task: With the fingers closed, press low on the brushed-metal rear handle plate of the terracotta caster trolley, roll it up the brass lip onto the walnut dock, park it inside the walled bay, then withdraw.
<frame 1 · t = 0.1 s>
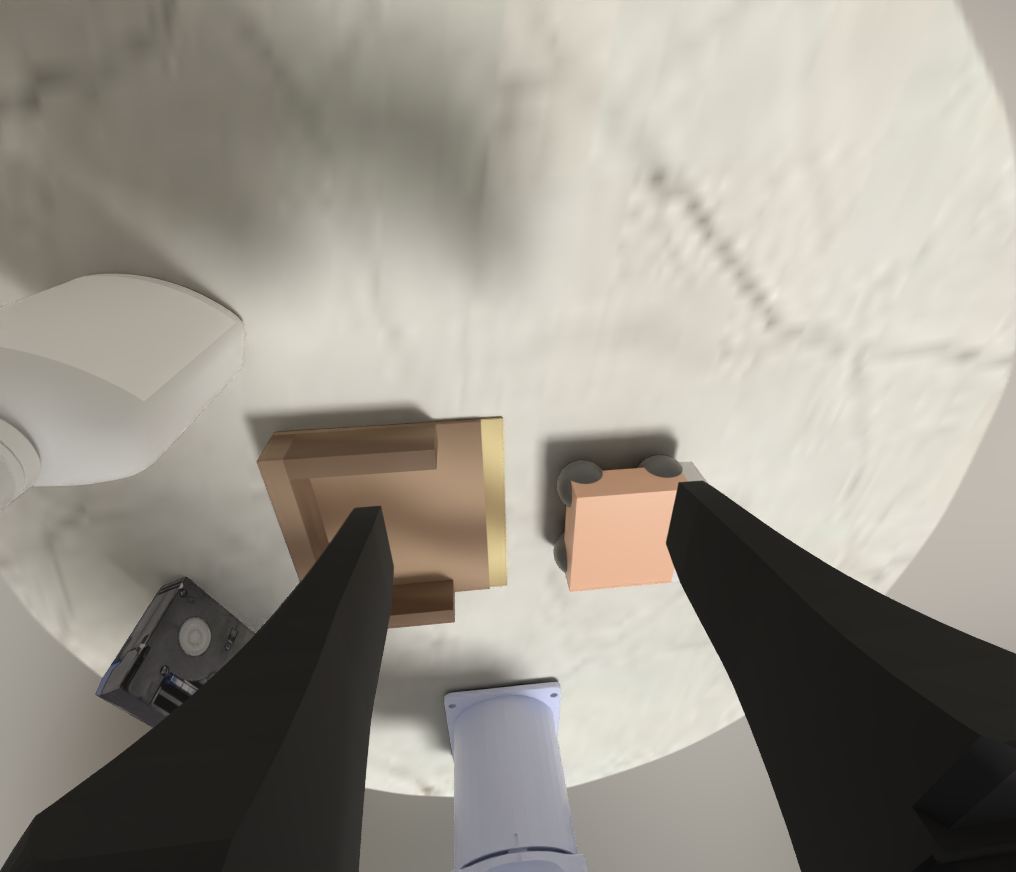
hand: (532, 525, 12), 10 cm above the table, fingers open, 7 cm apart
eye dropper bottle: (172, 321, 18), on the table
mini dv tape: (229, 621, 27), on the table
dock: (396, 519, 24), on the table
trolley: (609, 502, 25), on the table
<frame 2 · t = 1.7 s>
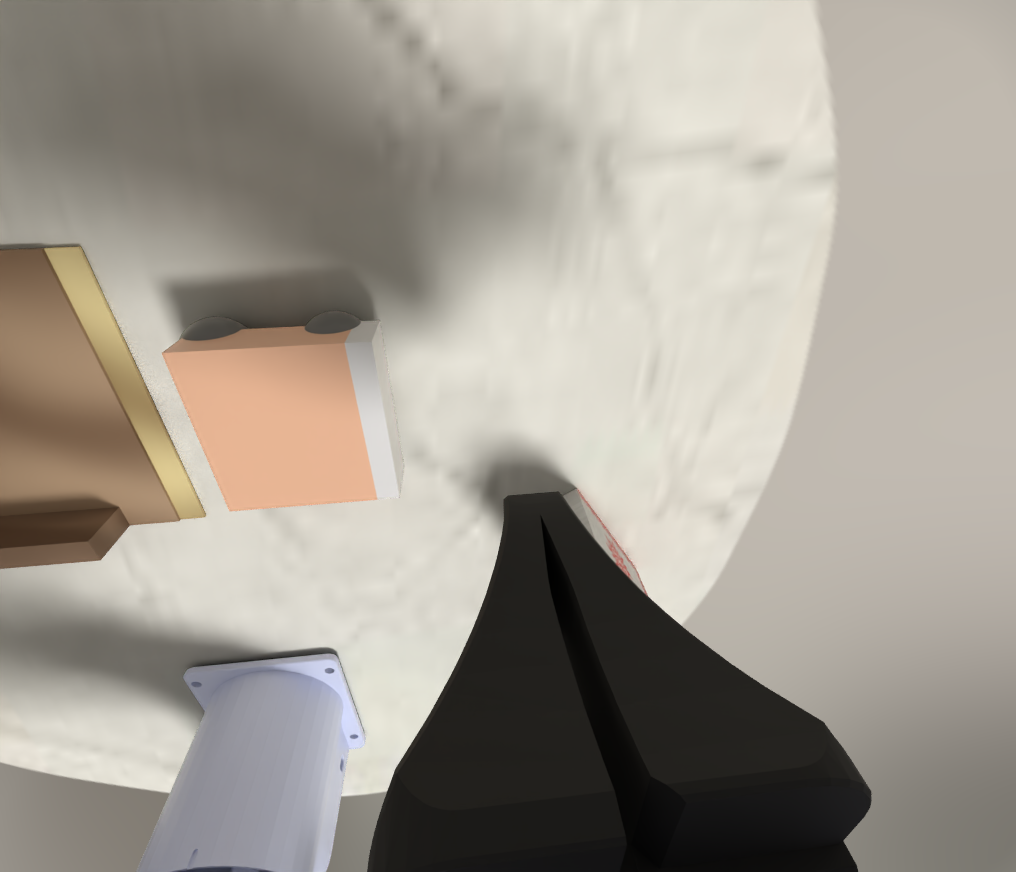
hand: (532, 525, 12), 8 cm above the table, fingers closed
gable top carton: (575, 545, 24), on the table
trolley: (305, 393, 18), on the table
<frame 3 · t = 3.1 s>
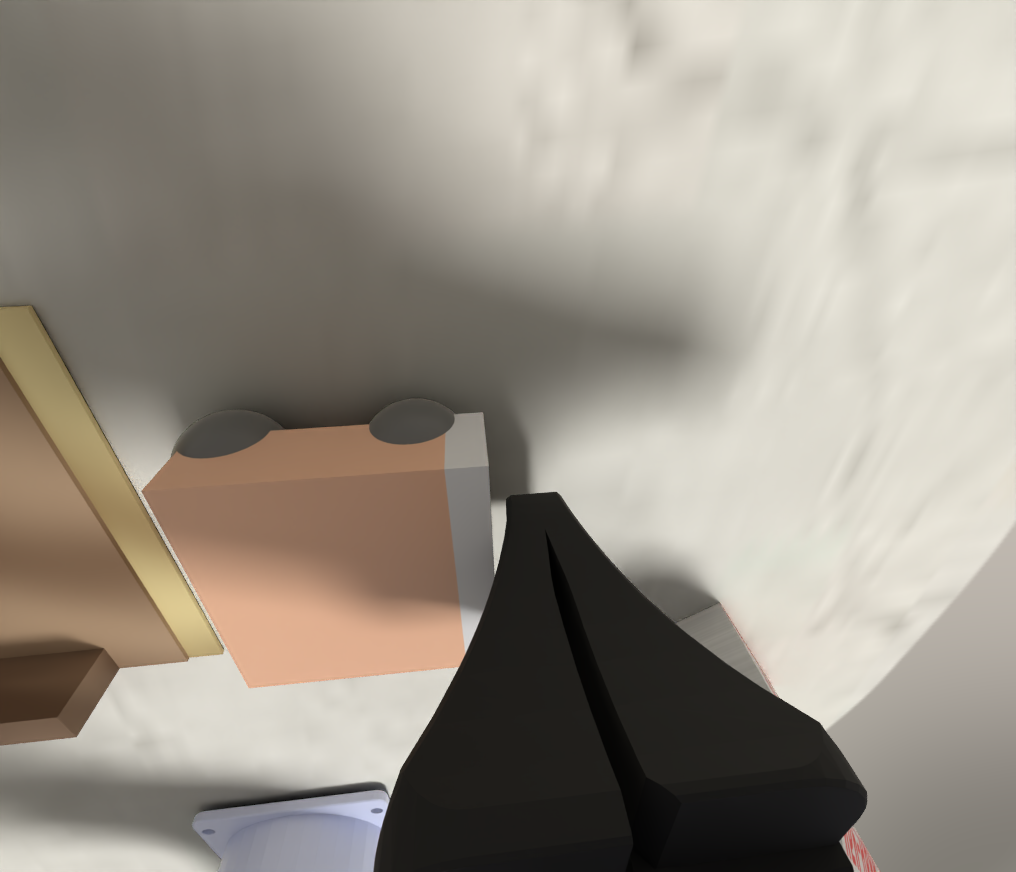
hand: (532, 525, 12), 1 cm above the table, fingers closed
gable top carton: (701, 662, 19), on the table
trolley: (357, 501, 13), on the table, touching gripper
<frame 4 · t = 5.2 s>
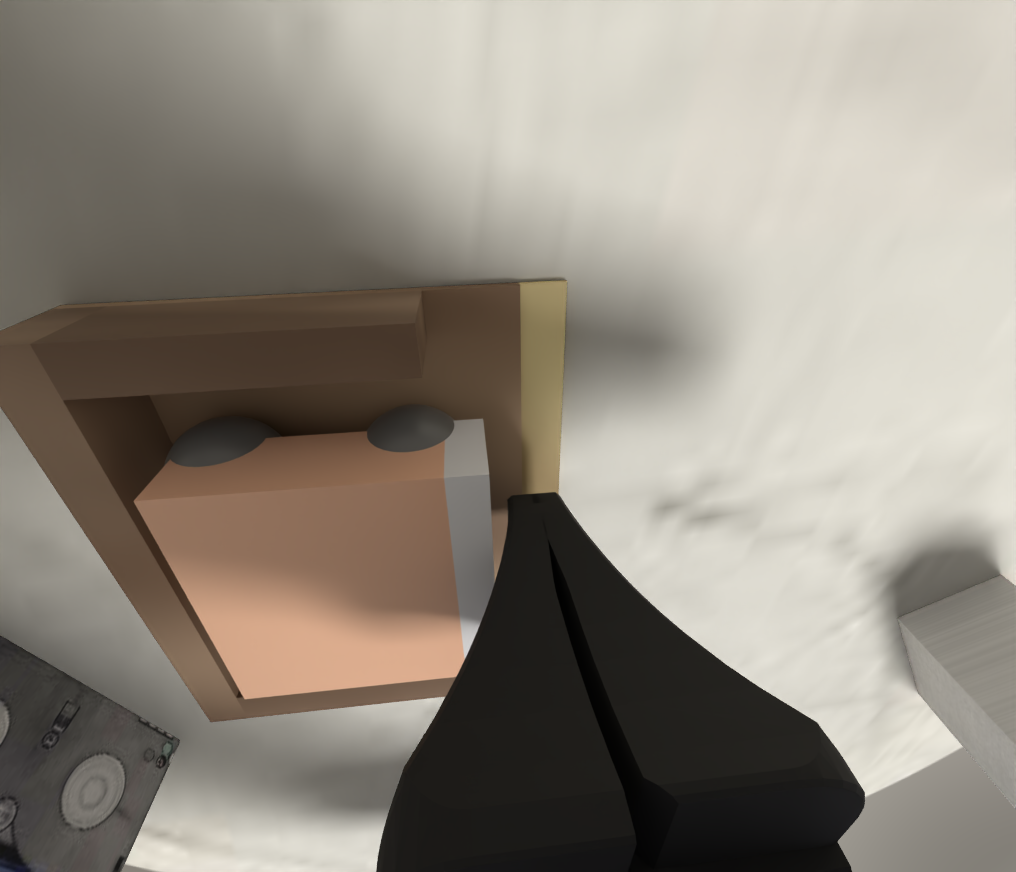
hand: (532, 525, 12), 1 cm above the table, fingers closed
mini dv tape: (72, 685, 16), on the table
gable top carton: (950, 635, 19), on the table
dock: (351, 503, 13), on the table
trolley: (355, 508, 12), resting on dock, touching gripper
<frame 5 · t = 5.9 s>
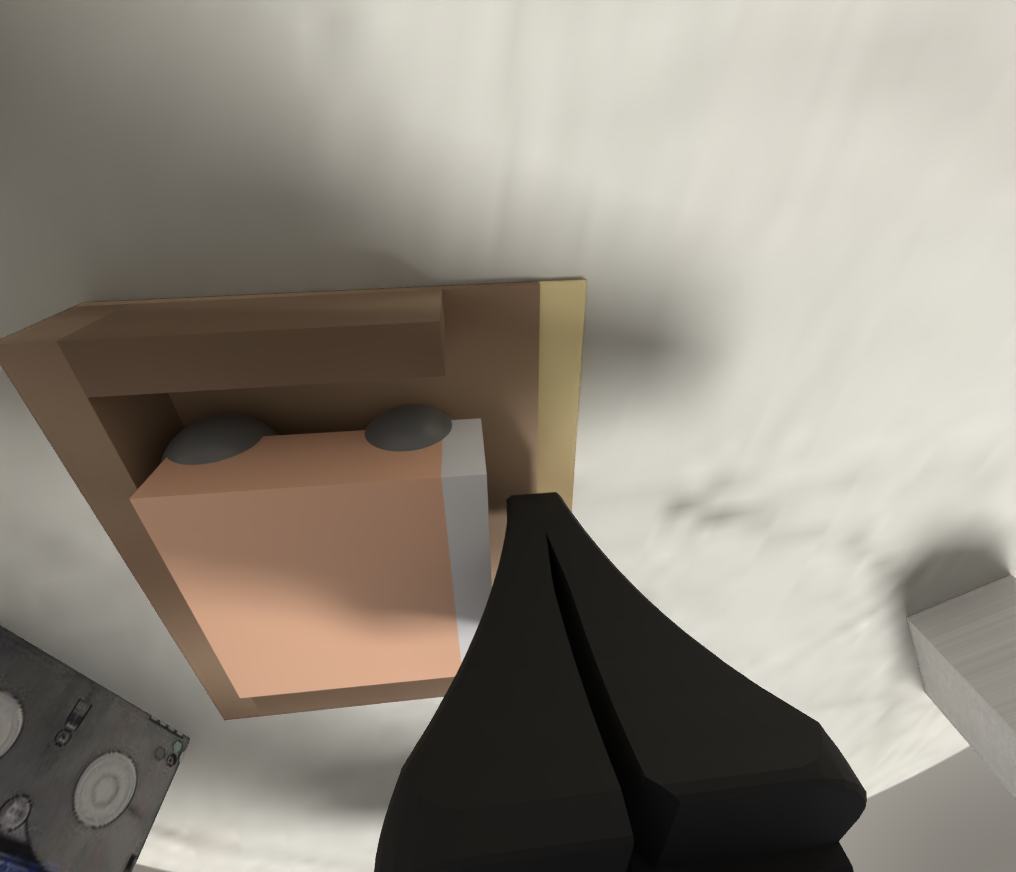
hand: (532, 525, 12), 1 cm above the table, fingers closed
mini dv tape: (84, 683, 16), on the table
gable top carton: (958, 635, 19), on the table
dock: (366, 502, 13), on the table
trolley: (352, 507, 12), resting on dock, touching gripper
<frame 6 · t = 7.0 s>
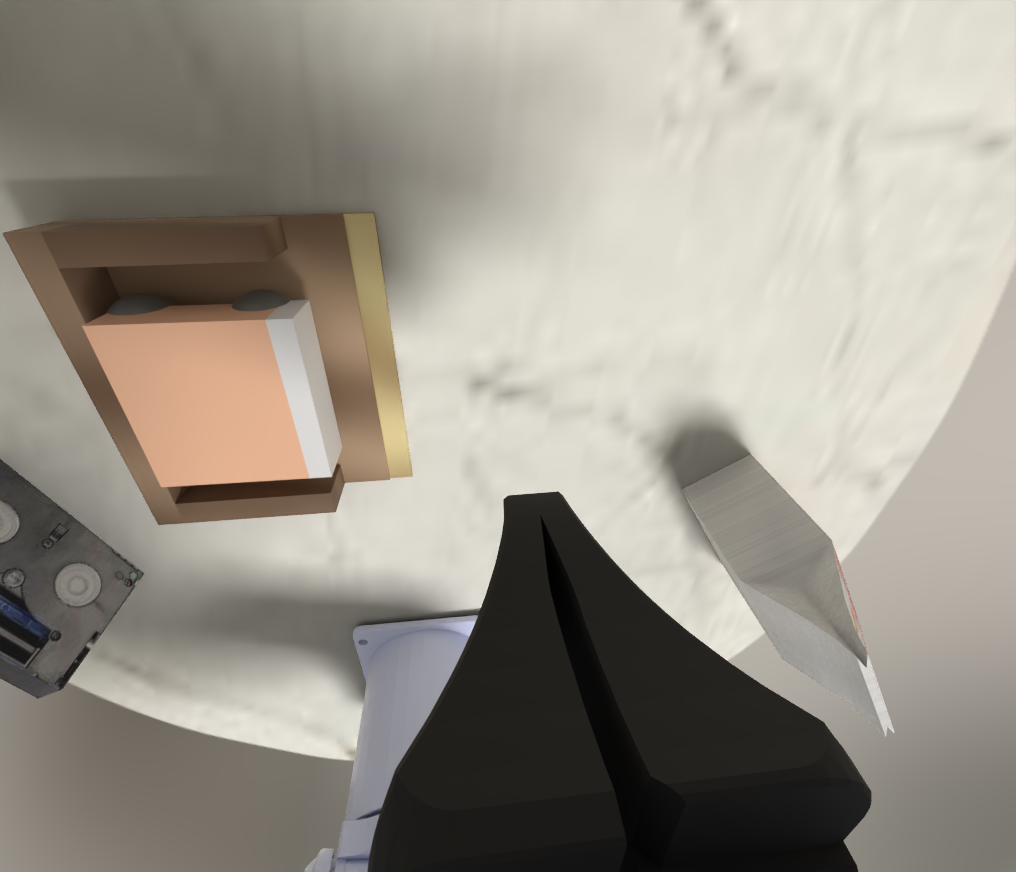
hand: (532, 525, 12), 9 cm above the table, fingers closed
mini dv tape: (63, 519, 22), on the table
gable top carton: (733, 510, 26), on the table
dock: (253, 371, 19), on the table
trolley: (242, 373, 18), resting on dock
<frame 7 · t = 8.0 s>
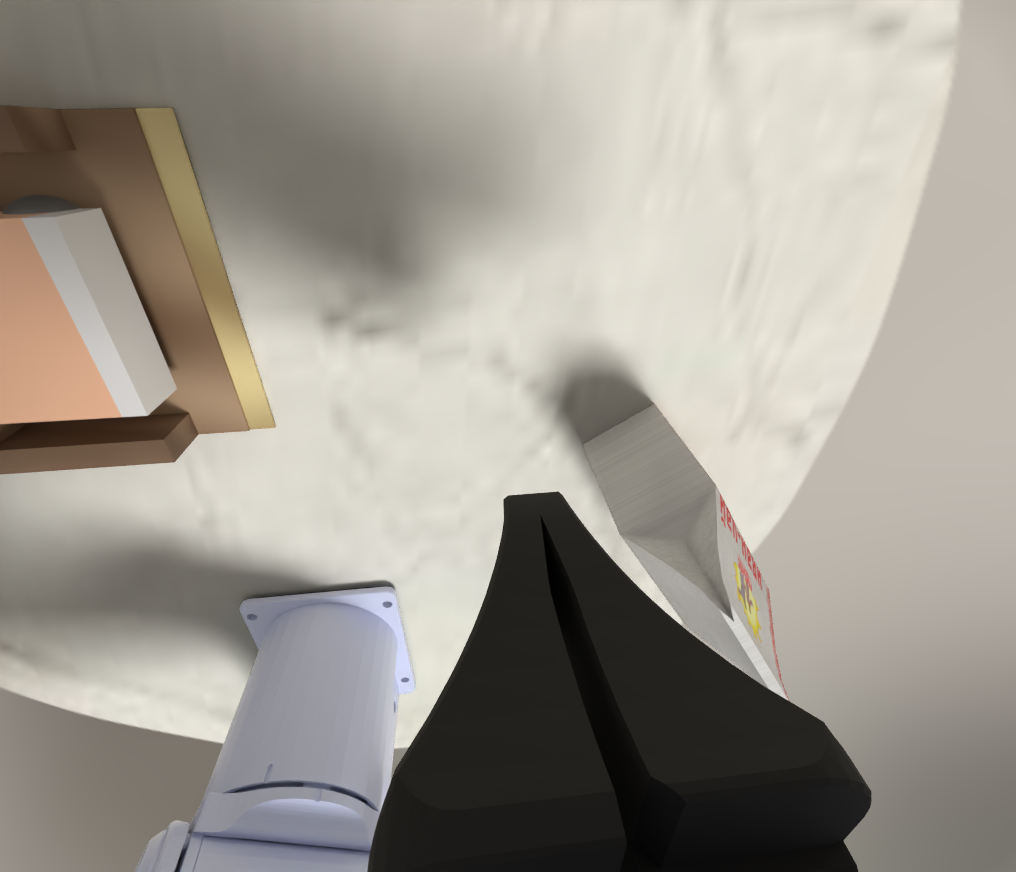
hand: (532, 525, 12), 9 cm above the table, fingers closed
gable top carton: (645, 470, 24), on the table
dock: (69, 301, 17), on the table
trolley: (54, 302, 16), resting on dock
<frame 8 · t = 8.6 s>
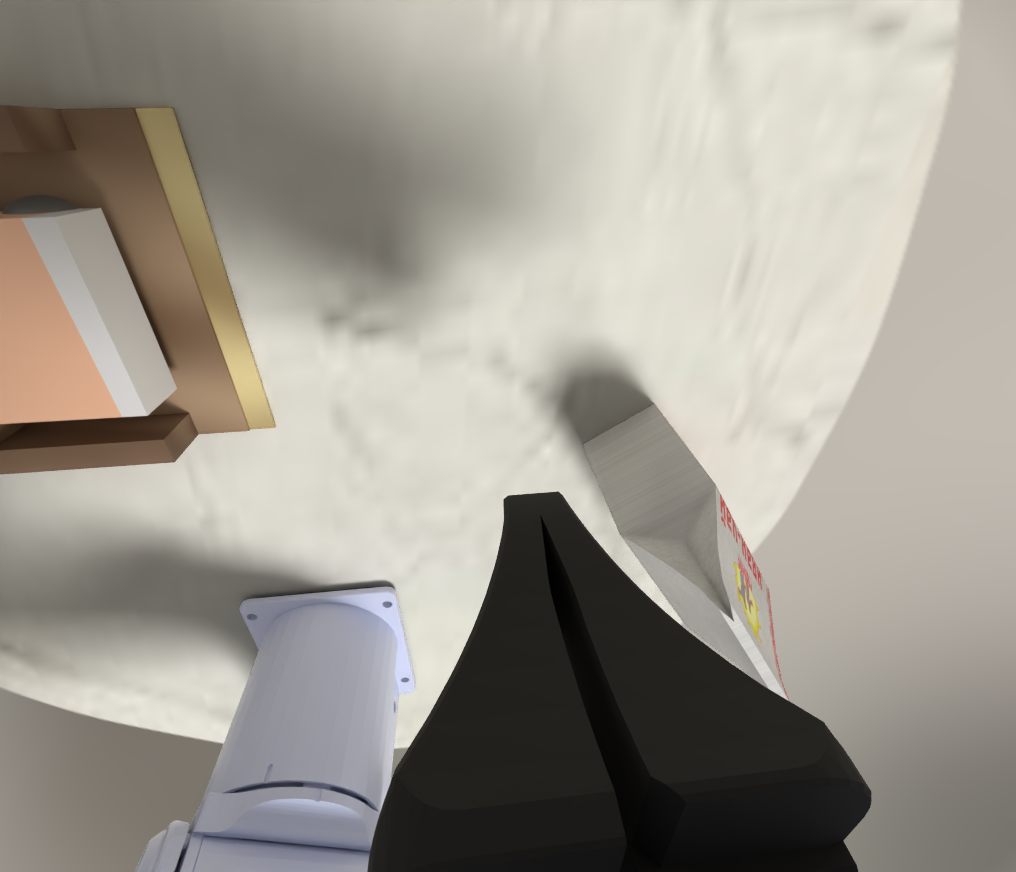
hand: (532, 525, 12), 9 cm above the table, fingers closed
gable top carton: (645, 470, 24), on the table
dock: (69, 301, 17), on the table
trolley: (54, 302, 16), resting on dock
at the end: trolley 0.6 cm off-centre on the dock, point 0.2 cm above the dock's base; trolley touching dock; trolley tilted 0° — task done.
